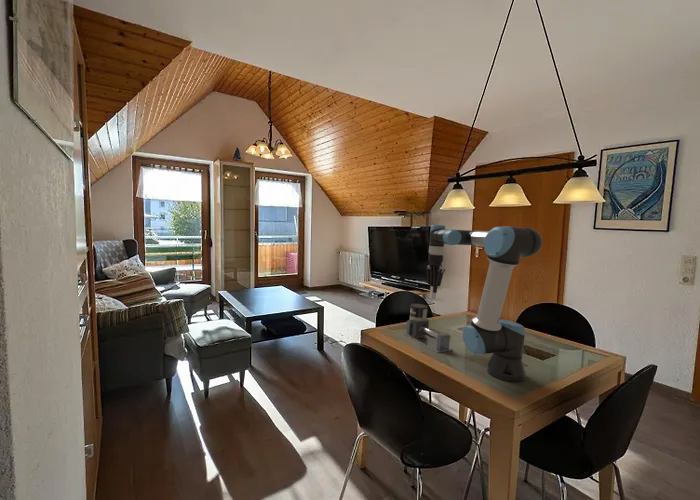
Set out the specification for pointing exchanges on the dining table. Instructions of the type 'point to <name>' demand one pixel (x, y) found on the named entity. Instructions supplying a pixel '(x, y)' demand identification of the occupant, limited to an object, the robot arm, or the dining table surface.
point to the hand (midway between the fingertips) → (432, 298)
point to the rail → (427, 341)
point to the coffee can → (418, 311)
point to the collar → (416, 327)
